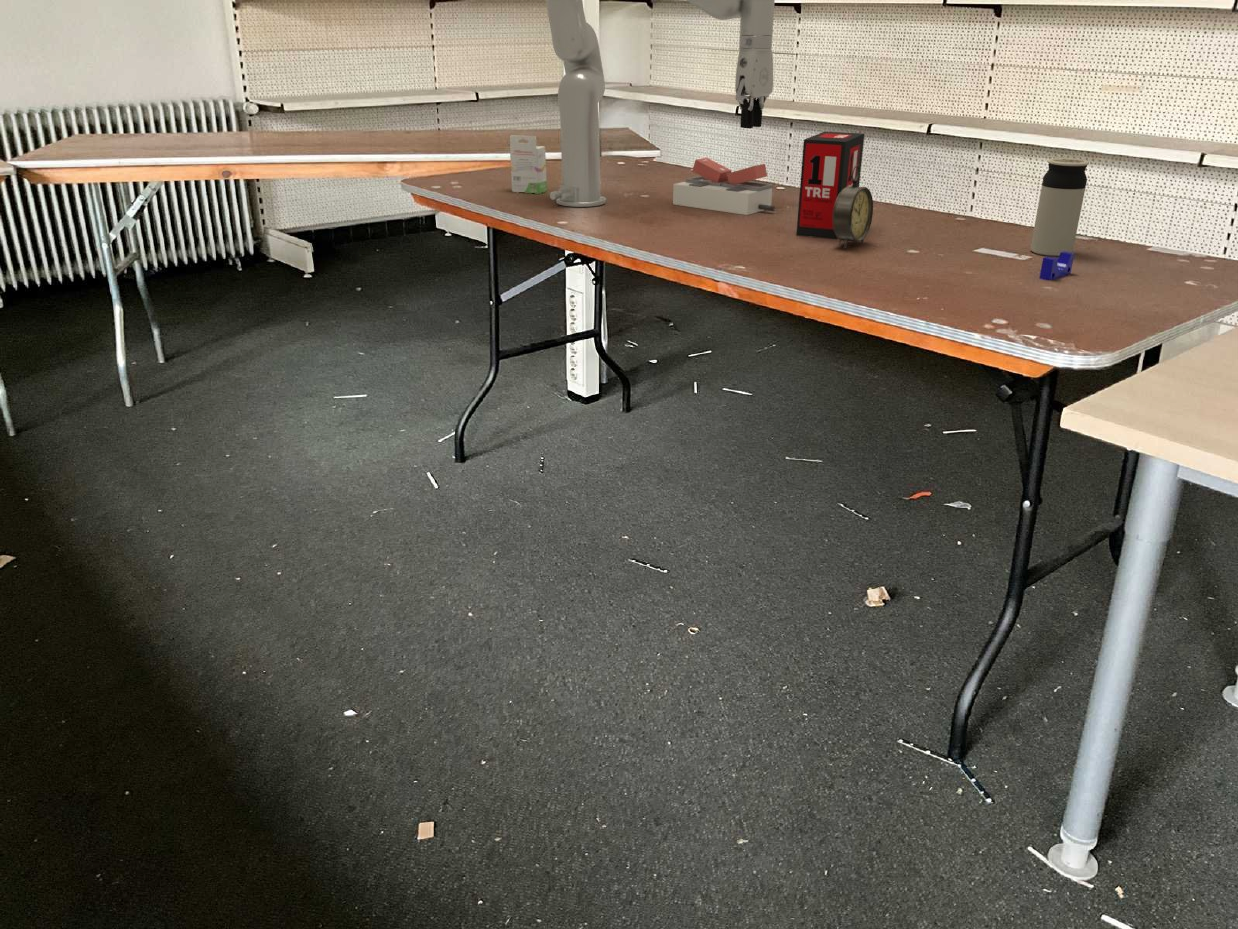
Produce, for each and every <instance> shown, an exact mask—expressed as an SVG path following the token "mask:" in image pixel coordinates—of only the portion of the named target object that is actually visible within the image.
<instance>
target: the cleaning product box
mask: <svg viewBox="0 0 1238 929" xmlns="http://www.w3.org/2000/svg"><path fill="white" fill-rule="evenodd" d="M864 142H865V133H862V132H861V133H859V132H858V133H857V132H841V131H823V132H819V133H817V134H815V135H814V134H813V135H812V136H809V137H805V138H804V139H803V144H802V145H803V146H802V159H801V169H800V170H801V171H800V172H801V173H800V184H799V185H800V186H799V196H798V197H799V198H798V208H797V223H796V232H795V233H796V234H795V235H796V236H801V237H809V236H812V237H813V238H821V239H831V240H837V239H839V238H838V237H837V236H836V234H835V232H834V229H833V209H834V205H835V201H836V199H837V197H838V195H839V193H840V192H841V191H842V190H843V189H844V188H846V187H849V186H852V185H853V182H852V172H853V169H854V167H855V166H856V165H858V166H859V176H858V179H857V187H860V182H861V181H860V180H861V171H862V162H863V161H862V160H863V150H864ZM857 174H858V168H857V167H856V168H855V170H854V174H853V179H856V178H857ZM812 237H811V238H812Z"/></svg>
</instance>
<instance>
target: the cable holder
mask: <svg viewBox="0 0 1238 929" xmlns="http://www.w3.org/2000/svg"><path fill="white" fill-rule="evenodd" d="M1074 258H1075V252H1073V253H1071V252H1065V251H1064V252H1061V253H1060V256H1059V257H1053V256H1044V257H1042V262H1041V268H1040V273H1039V279H1040V280H1046V281H1052V280H1055V279H1059V278H1061V277H1065V276H1067V275H1071V272H1072V269H1073V268H1072V267H1073V263H1074Z"/></svg>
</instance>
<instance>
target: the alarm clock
mask: <svg viewBox="0 0 1238 929" xmlns="http://www.w3.org/2000/svg"><path fill="white" fill-rule="evenodd" d="M856 167H857V168H858V174H857V178H856V179H853V174H854V170H855V168H856ZM858 176H859V166H858V165H856V166H855V167H854V169H853V172H852V182H853V185H852V186H849V187H846V188H844V189H843V190H842V191H841V192H840V193H839V195H838V197H837V199H836V201H835V205H834V209H833V229H834V232H835V234H836V236H837V237H838V238H837V239H838V240H839V242H838V244H840V243H842V241H843V242H844V243H843V247H842V250H846V249H847V246H848V244H849V242H856V243H859V242H862V243H863V242H864V239H865V238H866V236H867V235H868V233H869V231H870V228H871V226H872V223H873V214H874V198H873V195H872V192H871V190H870V189H869V188H868V187H866V186H859V187H857V179H858Z"/></svg>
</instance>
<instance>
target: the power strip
mask: <svg viewBox="0 0 1238 929" xmlns="http://www.w3.org/2000/svg"><path fill="white" fill-rule="evenodd" d="M773 188H774V184H772V183H763V182H756V181H748V182H744V183H740V184H736V185H733V184H729V181H725V182H721V183H717V182H711V181H710V180H708V179H706V178H704V177H702V176H700V175H698V176H693V177H689V178H685V181H681V182H677V183H673V189H672V190H673V191H672V192H673V195H672V199H673V200H672V204H673V205H675V206H681V207H689V208H695V209H703V210H710V211H718V212H722V213H723V212H724V213H730V214H737V215H744V216H745V215H746V216H749V215H753V214H756V213H760V212H764V211H770V212H775V211H776V206H775V205H772V200H773Z"/></svg>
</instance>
